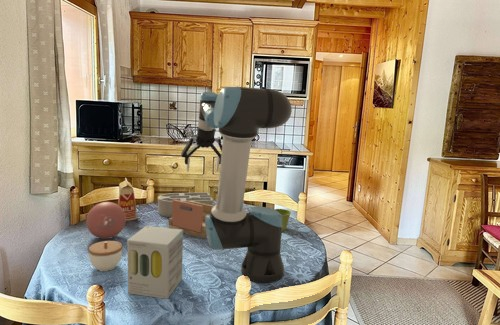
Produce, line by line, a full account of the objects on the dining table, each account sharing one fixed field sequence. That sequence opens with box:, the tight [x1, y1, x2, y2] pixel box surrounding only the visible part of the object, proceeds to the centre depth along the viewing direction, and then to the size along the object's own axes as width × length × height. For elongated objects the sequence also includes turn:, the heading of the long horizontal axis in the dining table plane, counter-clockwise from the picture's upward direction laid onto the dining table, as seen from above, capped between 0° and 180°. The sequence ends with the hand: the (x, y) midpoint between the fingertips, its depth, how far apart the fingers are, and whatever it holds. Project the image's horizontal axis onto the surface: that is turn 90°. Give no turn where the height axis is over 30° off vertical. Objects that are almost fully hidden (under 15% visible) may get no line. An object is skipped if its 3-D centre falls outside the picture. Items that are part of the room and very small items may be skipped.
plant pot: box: [273, 208, 292, 232], centre depth 168 cm, size 9×9×9 cm
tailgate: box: [171, 200, 203, 233], centre depth 155 cm, size 2×16×12 cm, turn 62°
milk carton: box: [117, 177, 138, 222], centre depth 171 cm, size 9×9×20 cm
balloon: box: [85, 201, 127, 240], centre depth 144 cm, size 15×20×15 cm
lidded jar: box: [88, 240, 123, 272], centre depth 121 cm, size 11×11×9 cm
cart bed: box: [168, 201, 215, 239], centre depth 163 cm, size 16×20×10 cm
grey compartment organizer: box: [157, 191, 214, 218], centre depth 186 cm, size 17×28×9 cm, turn 106°
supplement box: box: [127, 225, 184, 300], centre depth 110 cm, size 13×13×18 cm
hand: (202, 169), depth 161 cm, fingers open, 13 cm apart
